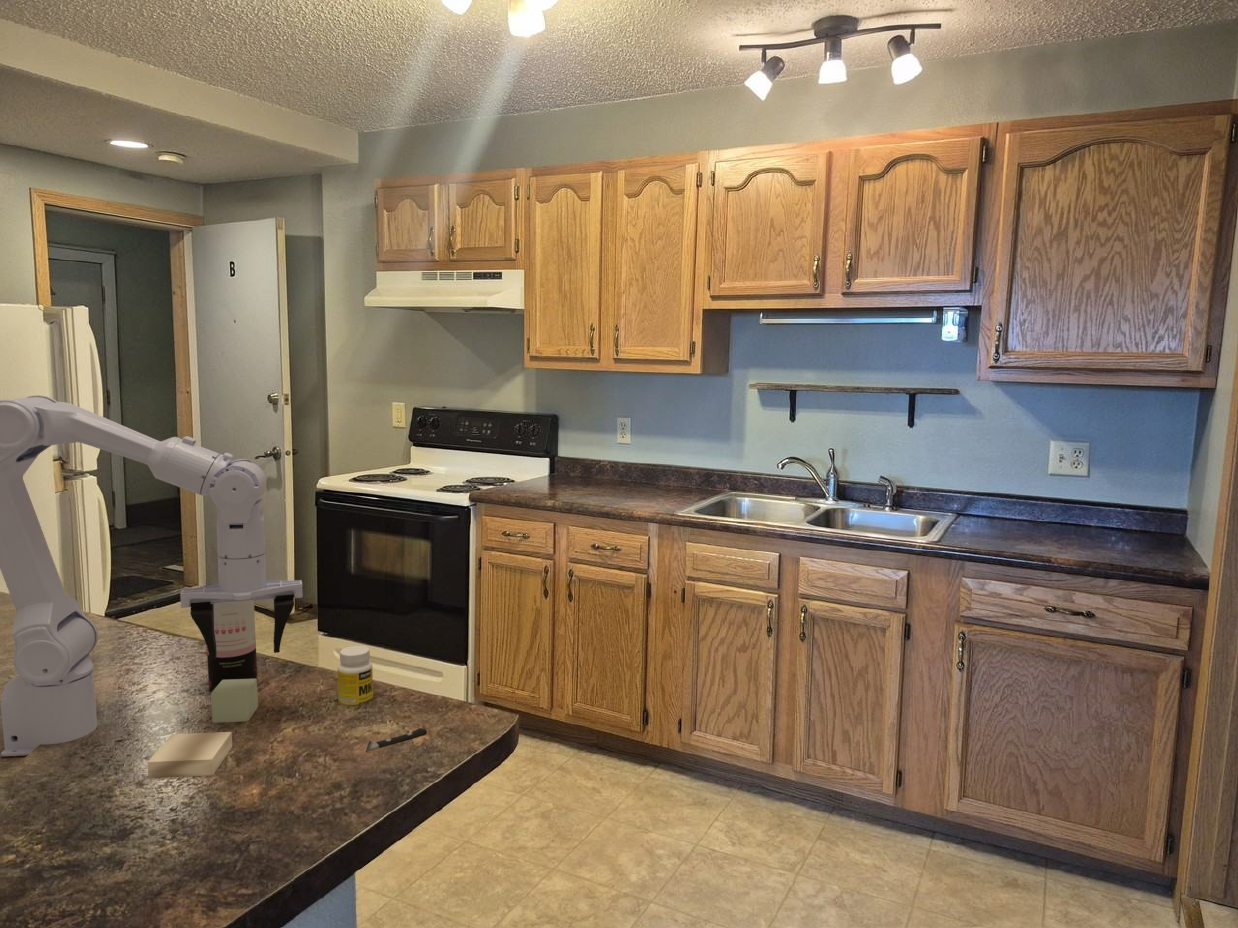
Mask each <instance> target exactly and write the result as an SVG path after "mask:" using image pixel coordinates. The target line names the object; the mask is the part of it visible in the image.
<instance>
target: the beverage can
mask: <svg viewBox="0 0 1238 928" xmlns="http://www.w3.org/2000/svg"><path fill="white" fill-rule="evenodd" d="M255 615H256V614H255V600H251V601H239V602H228V603H216V604H214V632H215V640H216V651H217V655H216V659H215V660H210V656H209V652H208V648H207V647H206V656H207V673H208V674H207V676H208V691H209V692H210V694H211V693H212V691H213V690H214V689H215V688H216V687H217V685H218V684H219V683H220V682H221V681H222V680H231V679H257V684H258V683H259V682H258V664H257V663H258V661H257V660H258V658H257V639H256V638H257V637H256V619H255V617H256V616H255Z"/></svg>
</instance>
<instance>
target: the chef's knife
mask: <svg viewBox="0 0 1238 928" xmlns="http://www.w3.org/2000/svg"><path fill="white" fill-rule="evenodd" d="M427 732H428V730H427V729H426V728H422V727H419V728H416V730H413V731H411V732H409V733H405V734H401V735H399V736H395V737H391V738H387V739H383V740H380V741H373V740H368V743H367V747H366V750H365V753H367V752H370V751H373V750H378V749H381V748H384V747H388V746H391V745H394V744H398V743H401V742H405V741H408V740H411V739H414V738H418V737H422V736H425V735H426V734H427Z"/></svg>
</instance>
